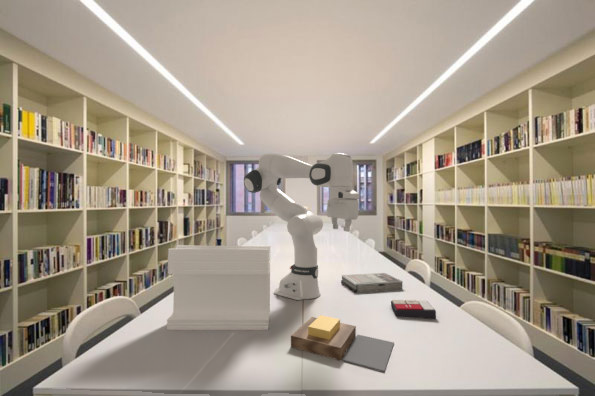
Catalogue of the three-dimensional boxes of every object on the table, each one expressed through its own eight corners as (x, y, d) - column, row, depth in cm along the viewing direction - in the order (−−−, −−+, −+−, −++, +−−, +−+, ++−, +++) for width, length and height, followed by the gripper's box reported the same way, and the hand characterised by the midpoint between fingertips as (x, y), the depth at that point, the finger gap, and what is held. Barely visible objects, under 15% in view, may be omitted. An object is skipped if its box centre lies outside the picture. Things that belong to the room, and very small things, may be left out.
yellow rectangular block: (308, 334, 88) (308, 326, 88) (320, 322, 97) (320, 315, 97) (329, 339, 85) (329, 331, 85) (339, 326, 93) (340, 319, 94)
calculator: (390, 298, 122) (427, 299, 120) (391, 308, 122) (427, 309, 120) (395, 308, 111) (435, 308, 109) (396, 319, 111) (436, 319, 109)
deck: (290, 346, 87) (290, 335, 87) (311, 326, 101) (311, 316, 101) (340, 360, 80) (340, 347, 80) (355, 336, 94) (355, 326, 94)
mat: (342, 360, 80) (342, 359, 80) (357, 335, 95) (357, 334, 95) (384, 372, 74) (384, 370, 74) (393, 343, 90) (393, 342, 90)
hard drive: (341, 283, 158) (341, 275, 158) (384, 280, 164) (384, 272, 164) (355, 293, 140) (355, 284, 140) (403, 290, 146) (403, 281, 147)
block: (269, 320, 107) (270, 245, 107) (267, 329, 99) (268, 249, 99) (176, 320, 106) (177, 245, 106) (166, 329, 98) (168, 248, 98)
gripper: (323, 195, 119) (322, 227, 119) (346, 193, 99) (345, 233, 99) (336, 195, 121) (336, 227, 120) (362, 194, 101) (361, 232, 101)
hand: (340, 230), depth 110 cm, fingers open, 8 cm apart
